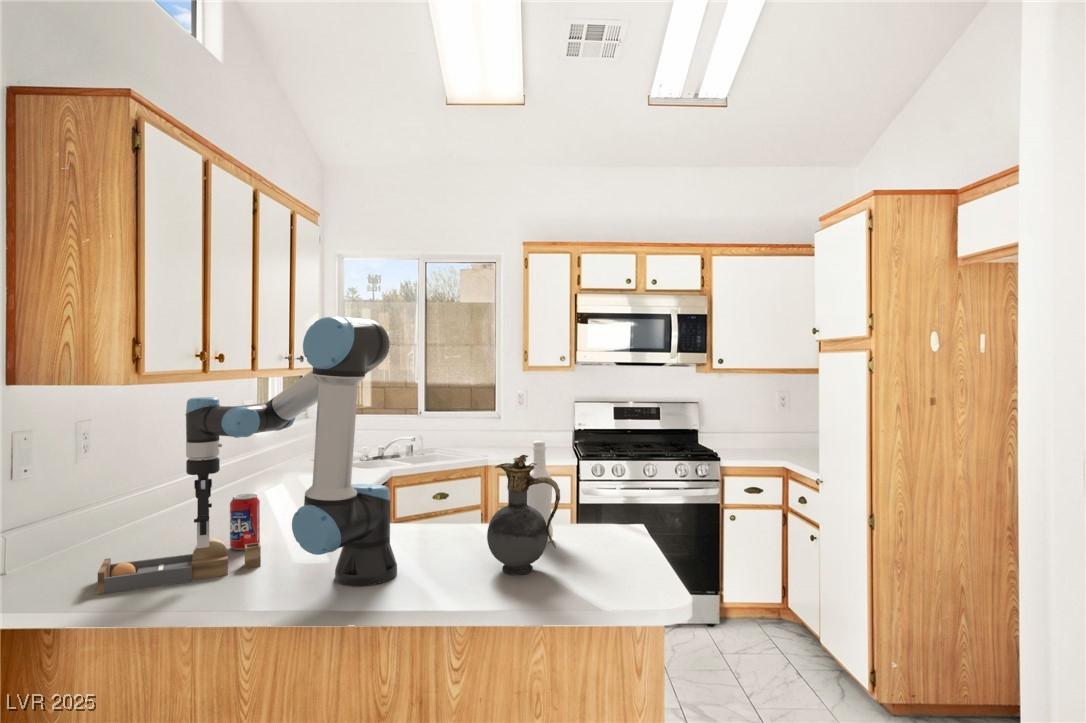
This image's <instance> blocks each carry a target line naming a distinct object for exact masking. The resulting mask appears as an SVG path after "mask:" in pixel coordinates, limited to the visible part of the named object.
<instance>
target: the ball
mask: <svg viewBox="0 0 1086 723" xmlns="http://www.w3.org/2000/svg"><path fill="white" fill-rule="evenodd" d="M119 563H120V564H118V565H117V566H115V567H114V568H113V570H112V572H111V577H113V576H120V575H128V574H135V573H136V570H135V567H134V566H133V565H132V564H130V563H124V562H119Z"/></svg>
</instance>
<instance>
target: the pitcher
mask: <svg viewBox="0 0 1086 723" xmlns="http://www.w3.org/2000/svg"><path fill="white" fill-rule="evenodd" d="M528 457H529V455H526V454H522V455H519V456H518V457H514V458H513V463H510V462H506V463H501V464H497V465H495V466H494V468H495V469H499V468H500V469H501V470H503V471H504V472H505V474H506V479H507V485H506V486H507V492H508V493H507V495H508V498H507V500H508V503H507V505H506V506H503V507H501V508H500V509H498V510H497V511H496V512H495V513H494V514H493V516H492V517H491V519H490V521H489V524H488V528H487V534H486V540H487V545H488V548H489V550H490V553H491V554H492V556H493V557H494V558H495V559H496V560H497V561H498V562H500V563H501V564H503V566H502V568H501V570H502V572H504V573H506V574H509V575H526V574H530V573H531V572H532V571H533V570H534V568H533V565H532V564H533V563H535V562H536V561H537V560H539V559H540V558H541V557H542V555H543V554H544V552H545V549H546V547H547V545H548V543H547V540H548V536H549V539H550V540H551V541H550V542H551V544H552V546H553V548H554V549H556V548H557V547H556V544H555V542H554V539H553V537H552V538H551V535H550V532H549V526H550V523H551V524H552V520H553V518H554V517H555V515H556V513H557V510H558V508H559V507H558V506H559V505H560V500H561V489H560V488H559V485H558V483H557V482H556V480H554V479H553V478H552V477H551V478H552V479H551V478H548V477H539V478H533V477H532V476H531V475H530V472H531V471H532V470H533V469H534V466H533V464H534V463H533V462H531V463H529V464H528V465H526V463H525V462H527V458H528ZM534 465H537V464H534ZM539 483H547V484H549V485H551V486H552V489H553V490H554V492H555V500H554V505H553V509H552V510H551V515H550V517H549V519H548V523H547V525H546V522H545V520H544V518H543V516H542V515H541V513H540V512H538V511H537V510H536V509H534V508H533V507H531V506H529V505H527V490H528V489H529V486H531V485H533V484H539Z"/></svg>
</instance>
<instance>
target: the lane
mask: <svg viewBox="0 0 1086 723" xmlns="http://www.w3.org/2000/svg"><path fill="white" fill-rule="evenodd" d="M192 556H193V553H189V554H188V553H187V554H179V555H173V556H165V557H156V558H149V559H141V560H133V561H126V562H123V563H130V564H132V565H133V566H134V567H135V570H136V573H135V574H128V575H120V576H113V577H111V572H112V570H113V568H114V567H115V566H117V565H118V564H120V563H121V562H117V563H111V564H110V577H106V578H104V594H103V595H105V594H110V593H111V594H112V593H117V592H124V591H133V590H138V589H145V588H152V587H157V586H158V587H160V586H167V585H173V584H174V585H175V584H180V583H188V582H192V581H193V580H192Z"/></svg>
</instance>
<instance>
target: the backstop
mask: <svg viewBox="0 0 1086 723" xmlns="http://www.w3.org/2000/svg"><path fill="white" fill-rule="evenodd" d="M110 564H112V563H111V557H110V558H104V560H103V562H102V563H101V565H100V567H99V570H98V572H97V595H105V594H104V578H106V577H110Z"/></svg>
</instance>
